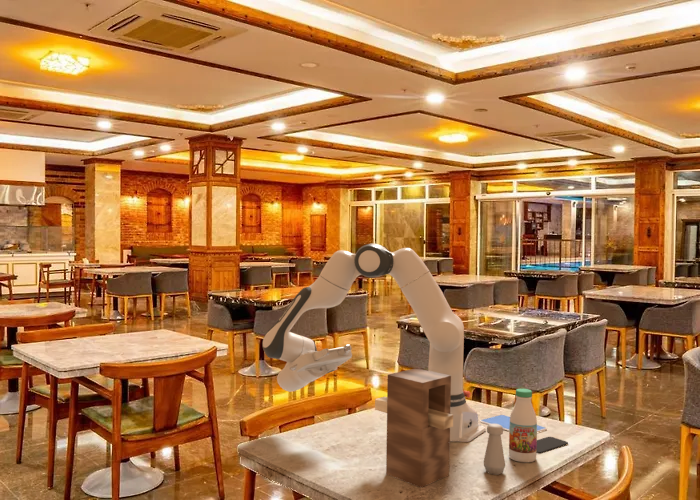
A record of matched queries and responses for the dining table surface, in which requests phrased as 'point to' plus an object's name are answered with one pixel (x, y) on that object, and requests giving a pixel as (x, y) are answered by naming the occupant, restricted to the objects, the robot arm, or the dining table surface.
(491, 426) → the salt shaker
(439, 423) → the pine bar
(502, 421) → the tablet computer
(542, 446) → the phone
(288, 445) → the dining table surface
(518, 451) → the milk bottle
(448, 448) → the walnut cabinet
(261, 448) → the dining table surface
